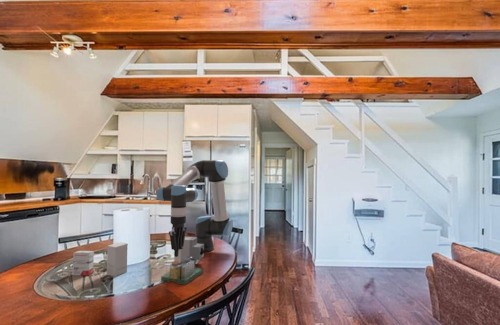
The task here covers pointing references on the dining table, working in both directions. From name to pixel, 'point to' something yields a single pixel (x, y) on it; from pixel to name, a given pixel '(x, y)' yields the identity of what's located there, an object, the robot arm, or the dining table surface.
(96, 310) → the dining table surface
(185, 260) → the silver elongated bar
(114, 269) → the skincare box
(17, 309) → the dining table surface
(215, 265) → the dining table surface
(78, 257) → the ink box
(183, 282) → the circuit board
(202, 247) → the circuit breaker
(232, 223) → the robot arm
